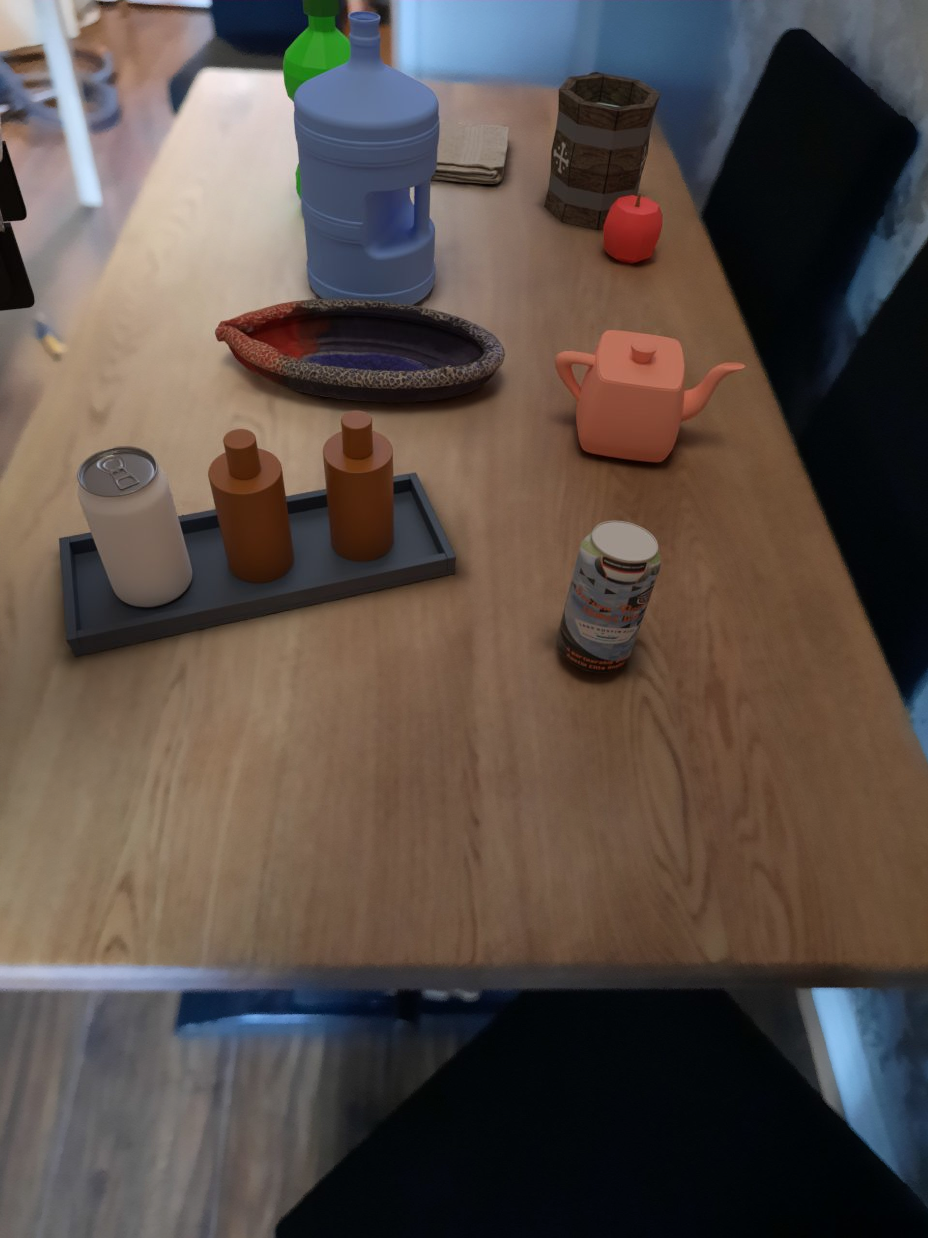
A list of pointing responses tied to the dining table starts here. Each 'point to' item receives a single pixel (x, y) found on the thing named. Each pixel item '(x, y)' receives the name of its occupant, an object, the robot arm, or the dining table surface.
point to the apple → (632, 228)
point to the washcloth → (471, 153)
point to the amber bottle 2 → (359, 489)
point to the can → (134, 525)
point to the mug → (598, 146)
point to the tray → (226, 598)
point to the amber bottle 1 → (251, 509)
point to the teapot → (635, 394)
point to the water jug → (367, 175)
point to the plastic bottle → (315, 50)
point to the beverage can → (608, 596)
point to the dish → (364, 349)
